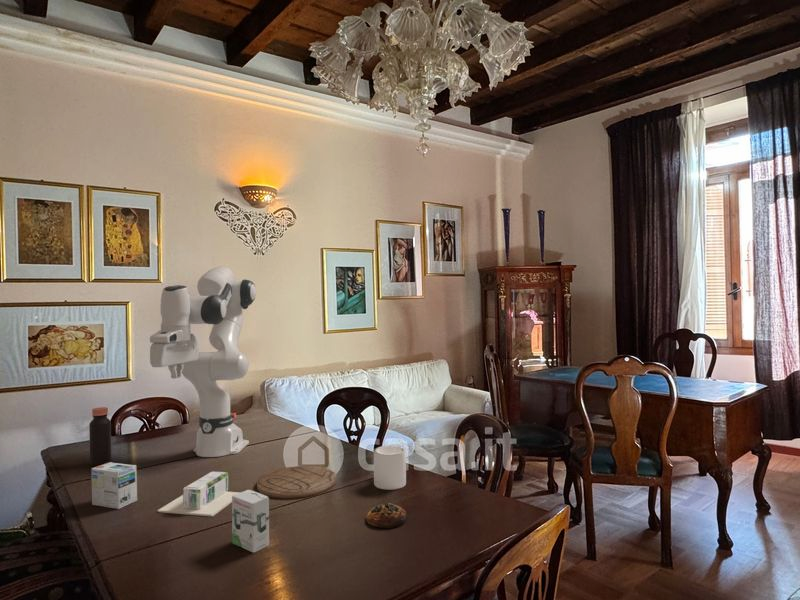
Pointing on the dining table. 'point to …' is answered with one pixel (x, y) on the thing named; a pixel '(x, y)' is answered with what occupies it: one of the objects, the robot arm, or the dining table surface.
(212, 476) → the syrup box
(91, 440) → the bottle
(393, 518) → the bread roll
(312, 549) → the dining table surface
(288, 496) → the trivet
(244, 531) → the ink box
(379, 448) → the mug
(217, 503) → the mat
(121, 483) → the light bulb box
